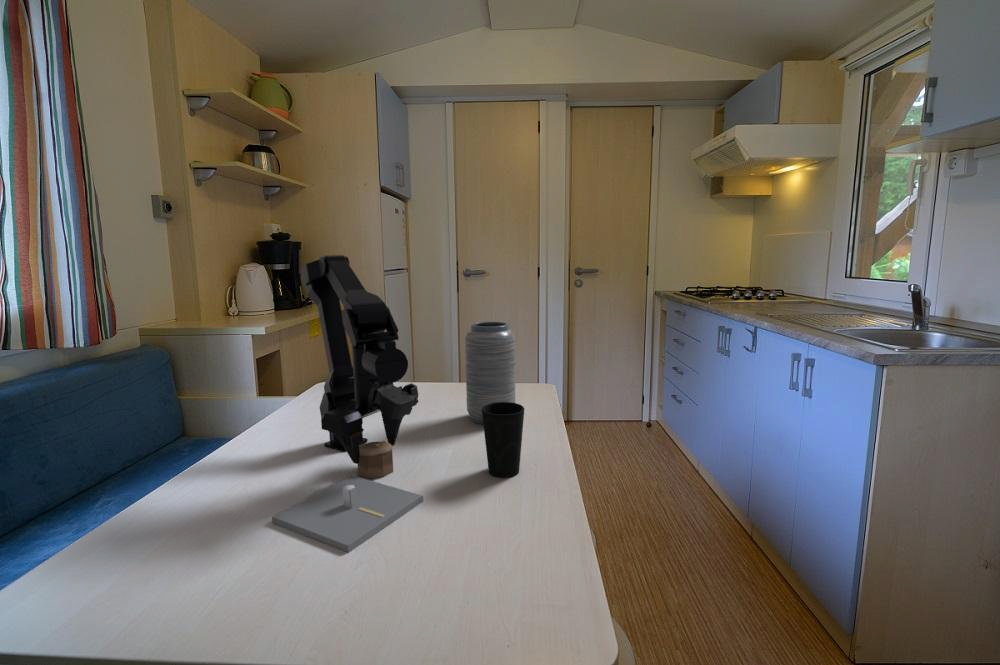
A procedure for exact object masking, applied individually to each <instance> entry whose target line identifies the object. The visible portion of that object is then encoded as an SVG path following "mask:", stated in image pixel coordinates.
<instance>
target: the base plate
mask: <svg viewBox="0 0 1000 665" xmlns="http://www.w3.org/2000/svg"><path fill="white" fill-rule="evenodd" d="M423 502H424V496H423V495H422V494H419V493H416V492H411V491H407V490H404V489H401V488H397V487H394V486H391V485H387V484H383V483H381V482H380V483H379V482H378V481H373V480H371V479H367V478H364V477H360V476H356V475H349V476H347V477H345V478H343V479H341V480H340V481H338V482H335V483H334V484H332V485H330V486H328V487H326V488H324V489H322V490H320V491H318V492H316V493H314V494H313V495H310V496H309V497H306V498H305V499H303V500H300V501H299V502H296V503H295V504H293V505H291V506H288V507H287V508H285V509H283V510H281V511H279V512H277V513H275V514H274V515H272V516H271V522H272V524H274V525H278V526H280V527H282V528H284V529H288V530H290V531H293V532H295V533H299V534H301V535H303V536H305V537H309V538H311V539H314V540H316V541H319V542H321V543H324V544H326V545H328V546H330V547H331V546H332V547H334V548H337V549H339V550H342V551H345V552H346V553H350V552H351V551H353V550H354V549H357V547H359V546H360V545H362V544H364V542H366V541H368V540H369V539H371V538H372V537H373V536H375V535H376V534H378V533H380V531H382V530H384V529H386V528H387V527H388V526H389V525H391V524H392V523H394V522H395V521H396V520H398V519H399V518H401V517H402V516H404V515H406V514H407V513H408V512H410V511H411V510H413V509H414V508H416V507H417V506H418V505H420V504H421V503H423Z"/></svg>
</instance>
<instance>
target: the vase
mask: <svg viewBox="0 0 1000 665" xmlns="http://www.w3.org/2000/svg"><path fill="white" fill-rule="evenodd" d="M515 342H516V338H515V334H514V333H513V332H512V330H511V329H509V324H508V323H507V322H504V321H481V322H474V323H471V325H470V329H469V331H468V332H467V333H466V335H465V338H464V344H465V346H464V349H465V352H464V353H465V383H466V384H465V385H466V386H465V391H466V393H465V394H466V410H467V413H468V415H469V416H470V417H471V418H472V419H473V421H474V422H475V423H476V424H481V425H483V417H482V407H484V406H485V405H487V404H491V403H496V402H511V403H516V402H517V401H516V344H515Z"/></svg>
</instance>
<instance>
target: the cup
mask: <svg viewBox="0 0 1000 665" xmlns="http://www.w3.org/2000/svg"><path fill="white" fill-rule="evenodd" d="M482 417H483V424H482V425H483V434H484V441H485V449H486V450H485V452H486V457H487V458H486V460H487V467H488V474H489V475H490V476H492V477H494V478H498V479H499V478H500V479H509V478H512V477H513V478H514V477H516V476H517V475H519V474H520V466H521V456H522V455H521V453H522V452H521V451H522V442H523V431H524V430H523V428H524V417H525V407H524V406H523V405H522V404H520V403H511V402H496V403H491V404H487V405H485V406H484V407H482Z"/></svg>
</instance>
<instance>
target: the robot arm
mask: <svg viewBox="0 0 1000 665" xmlns="http://www.w3.org/2000/svg"><path fill="white" fill-rule="evenodd" d="M300 270H301V271H300V278H301V279H300V280H301V284H302V285H303V286H304V287H305V292H306V295H307V296H308V298H309V299H310V300H311V301H312V302H313V303H314V304H315V305H316V306H317V312H318V318H319V321H320V322H319V323H320V328H321V333H322V338H323V345H324V350H325V356H326V360H327V361H326V362H327V367H328V372H329V374H328V375H327V378H326V380H325V382H324V384H323V390H324V391H323V392H324V393H323V395H322V398H321V402H320V405H319V413H320V418H321V419H320V423H321V430H324V431H328V433H329V441H325V442H324V444H323V446H324V447H327V448H331V449H335V450H339V451H343V452H346V453H347V455H348V456H349V458H350V459H351V461H352V463H353V464H355V465H358V463H359V457H360V452H359V446H361V445H363V444H366V443H368V441H369V440H368V438H366V437H364V436H363V434H364V433H363V432H364V430H365V429H364V428H363V422H364V420H363V419H365V418H367V417H370V416H372V415H374V414H376V413H379V412H381V413H380V415H381V418H382V423H383V427H384V432H385V435H386V441H387V443H390V444H391V445H392V447H394V446H395V444H396V441H397V438H398V434H399V430H400V427H401V424H402V421H403V418H404V417H405V416H409V415H411V413H412V411H413V407H415V406H417V404H418V403H419V399H418V398H419V391H418V390H419V389H418V386H417V385H416V384H414V383H413V382H411V383H408V384H406V385H404V386H402V385H401V386H395V385H394V383H396V382H399V381H400V380H402V378H404V377H405V375H406V373H407V371H408V367H409V360H408V359H407V355H406V354H405V353H404V352H403V351H402V350H401V349H399V348H397V345H396V341H398V340H399V335H398V332H399V328H398V326H397V324H396V321H395V319H394V318H393V315H392V313H391V310H390V308H389V307H388V305H387V304H386V303H385V301H384V300H382V298H380V297H379V296H378V295H376V294H375V293H372V292H369V291H368V290H367V289H366V288H365V287H364V285H363V284H362V282H361V281H360V279H359V277H358V276H357V275H356V273H355V272H354V270H353V268H352V267H351V265H350V260H349V257H348V256H347V255H346V256H345V255H342V254H341V255H339V254H337V255H336V254H335V255H334V254H333V255H332V254H331V255H324V256H320V257H319V259H316V260H314V261H311V262H308V263H305V265H304V266H303V267H302V268H301V269H300ZM341 304H342V306H343V310H342V306H341ZM347 337H348V338H349V340H350V341H349V342H350V344H351V351H352V352H351V353H350V349H349V348H350V347H349V343H348V338H347ZM351 354H352V355H351ZM351 356H352V358H351Z"/></svg>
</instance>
